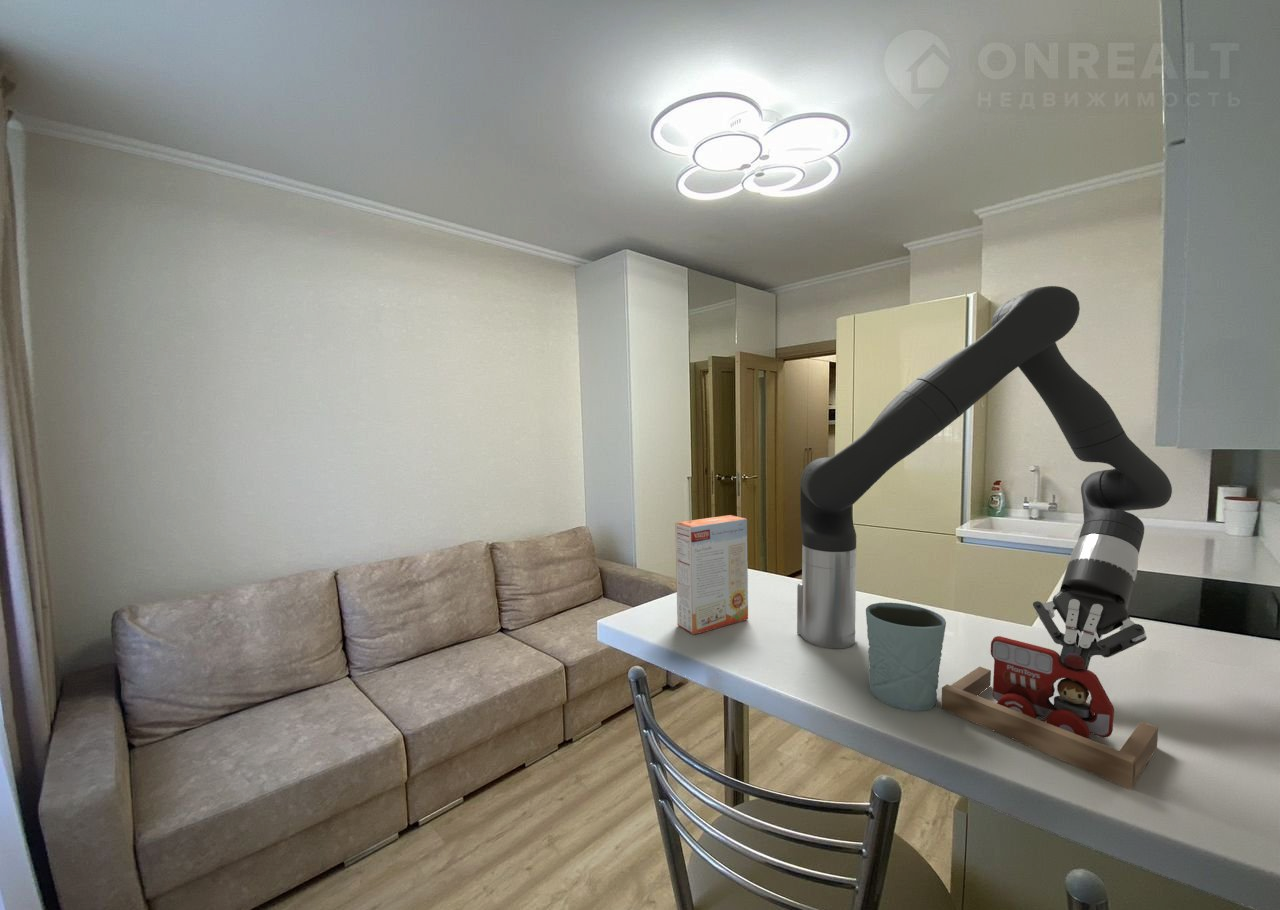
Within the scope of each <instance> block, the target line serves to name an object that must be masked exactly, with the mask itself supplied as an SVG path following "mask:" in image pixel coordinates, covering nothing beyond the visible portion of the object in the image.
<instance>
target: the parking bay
mask: <svg viewBox="0 0 1280 910" xmlns="http://www.w3.org/2000/svg"><path fill="white" fill-rule="evenodd" d="M991 680H992V670H991V669H989V668H986V667H983V666H978V667H977V668H975V669H973V670H972V671H970V672H969V673H967V674H966V675H964V676H963V677H960V678H959V679H958V680H957V681H955V682H952V684H945V685H944V686H942V687H941V710H943V711H946V712H948V713H951V714H953V715H956V716H958V717H960V718H963V719H964V718H965V719H964V720H967V721H970V722H971V721H972V723H974V724H976V723H977V724H976V725H978V724H979V726H981V727H983V726H984V727H983V728H985V727H986V728H985V729H988V730H990V729H991V731H992V730H994V731H993V732H995V733H997V732H998V733H997V734H999V733H1000V735H1002V734H1003V735H1002V736H1004V737H1007V738H1009V737H1010V738H1009V739H1011V738H1013V739H1012V740H1014V741H1016V740H1017V741H1016V742H1018V741H1019V742H1018V743H1021V744H1023V745H1025V746H1028V747H1030V748H1033V749H1034V750H1037V751H1038V752H1039V751H1040V752H1041V753H1044V754H1046V755H1049V756H1051V757H1053V758H1056V759H1058V760H1061V761H1062V762H1065V763H1068V764H1070V765H1072V766H1075V767H1076V768H1079V769H1082V770H1083V771H1086V772H1088V773H1091V774H1093V775H1095V776H1098V777H1100V778H1102V779H1105V780H1107V781H1110V782H1111V783H1114V784H1117V785H1119V786H1121V787H1123V788H1126V789H1128V790H1132V789H1133V787H1134V786H1135V784H1136V782H1137V780H1138V779H1139V778H1140V776H1141V774H1142V773H1143V771H1144V769H1145V768H1146V767H1147V765H1148V763H1149V762H1150V760H1151V758H1152V757H1151V756H1153V755H1152V754H1154V753H1155V752H1156V750H1157V748H1158V735H1159V727H1157V726H1155V725H1151V724H1148V723H1146V722H1143V721H1140V722H1139V723H1138V724H1137V726H1136V727H1135V729H1134V730H1133V732H1132V733H1131V734H1130V736H1129V737H1128V738H1127V740H1126V741H1125V742H1124V744H1123V745H1122V747H1121V748H1120V750H1118V749H1116V748H1113V747H1110V746H1108V745H1105V744H1102V743H1100V742H1098V741H1094V740H1092V739H1090V738H1089V739H1087V738H1085V737H1082V736H1080V735H1077V734H1074V733H1072V732H1069V731H1067V730H1064V729H1061V728H1059V727H1056V726H1054V725H1051V724H1049V723H1046V721H1043V720H1040V719H1038V718H1033V717H1030V716H1028V715H1025V714H1023V713H1020V712H1018V711H1015V710H1012V709H1010V708H1007V707H1005V706H1002V705H999V704H997V703H996V702H994V701H991V700H990V699H987V698H984V697H981V696H980V695H981V694H982V693H983V692H982V691H984V690H985V689H986V688H988V687H989V686H990V685H992V684H991V683H992V682H991ZM990 687H991V686H990ZM990 687H989V688H990ZM989 688H988V689H989ZM985 691H986V690H985ZM985 691H984V692H985ZM981 692H982V693H981ZM980 693H981V694H980ZM979 694H980V695H979ZM977 695H978V696H977ZM1155 749H1156V750H1155ZM1154 751H1155V752H1154ZM1153 752H1154V753H1153ZM1150 757H1151V758H1150ZM1149 759H1150V760H1149ZM1146 764H1147V765H1146ZM1144 767H1145V768H1144Z"/></svg>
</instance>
